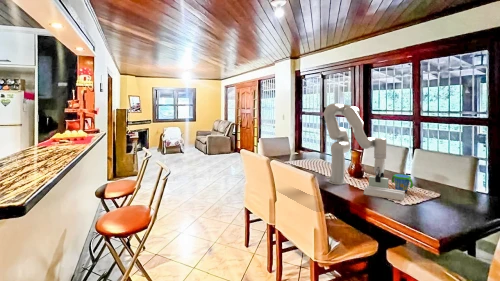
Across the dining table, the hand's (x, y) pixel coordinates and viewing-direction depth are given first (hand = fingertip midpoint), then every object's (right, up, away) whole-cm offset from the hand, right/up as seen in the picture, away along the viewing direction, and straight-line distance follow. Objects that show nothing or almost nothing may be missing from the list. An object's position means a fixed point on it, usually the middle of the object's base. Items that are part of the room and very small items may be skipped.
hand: (379, 180), depth 206 cm
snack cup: (+16, -7, +2) cm, 17 cm away
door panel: (-1, -7, +1) cm, 7 cm away
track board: (-2, -8, -11) cm, 14 cm away
